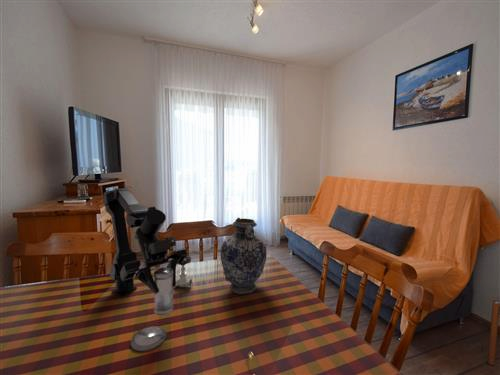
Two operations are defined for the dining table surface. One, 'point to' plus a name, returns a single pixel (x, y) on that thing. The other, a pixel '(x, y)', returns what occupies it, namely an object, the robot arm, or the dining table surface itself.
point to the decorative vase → (243, 257)
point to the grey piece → (163, 291)
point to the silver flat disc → (148, 338)
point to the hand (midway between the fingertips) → (165, 289)
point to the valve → (184, 275)
